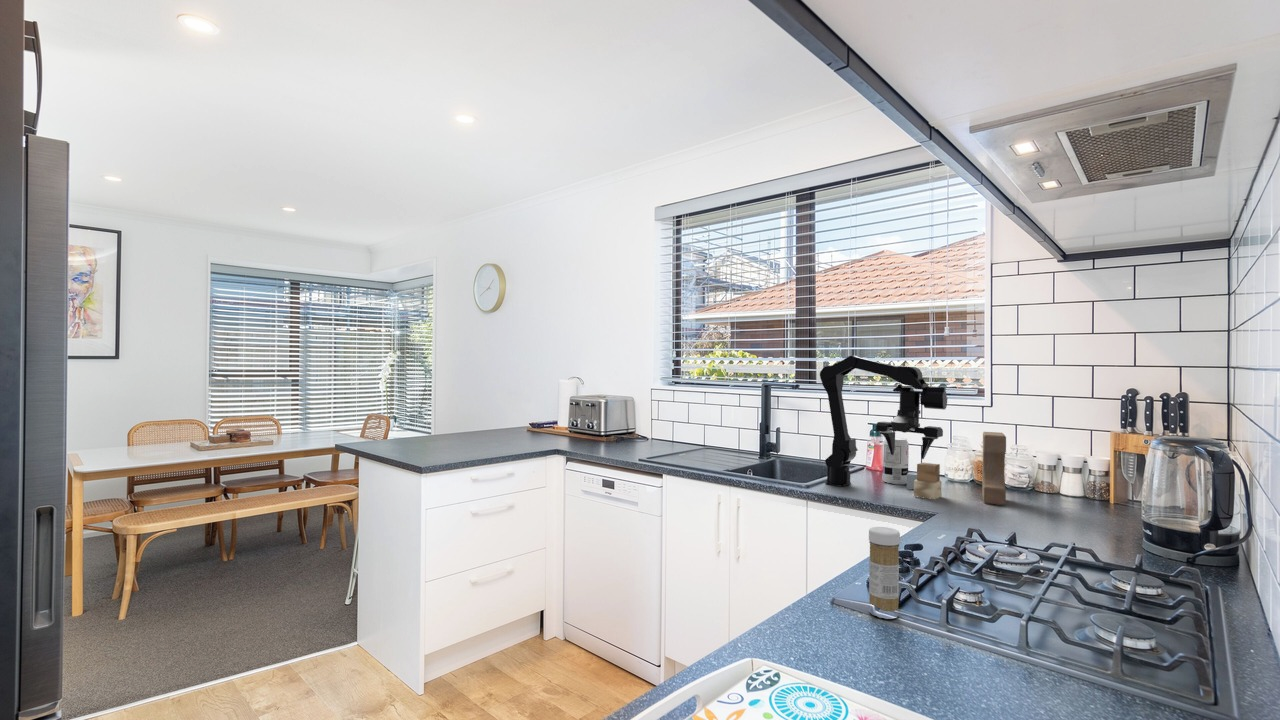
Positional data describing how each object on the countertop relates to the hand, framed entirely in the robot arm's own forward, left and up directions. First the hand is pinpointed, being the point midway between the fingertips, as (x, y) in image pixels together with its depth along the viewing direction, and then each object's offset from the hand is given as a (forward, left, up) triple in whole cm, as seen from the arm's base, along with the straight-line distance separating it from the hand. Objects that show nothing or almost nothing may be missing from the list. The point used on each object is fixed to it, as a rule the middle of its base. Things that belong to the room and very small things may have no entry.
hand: (907, 456), depth 192 cm
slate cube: (-1, +10, -12) cm, 15 cm away
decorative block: (+22, +8, -12) cm, 26 cm away
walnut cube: (+6, 0, -7) cm, 9 cm away
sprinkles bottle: (+33, -100, -12) cm, 106 cm away
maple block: (+6, 0, -12) cm, 13 cm away
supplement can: (-10, +16, -12) cm, 22 cm away
